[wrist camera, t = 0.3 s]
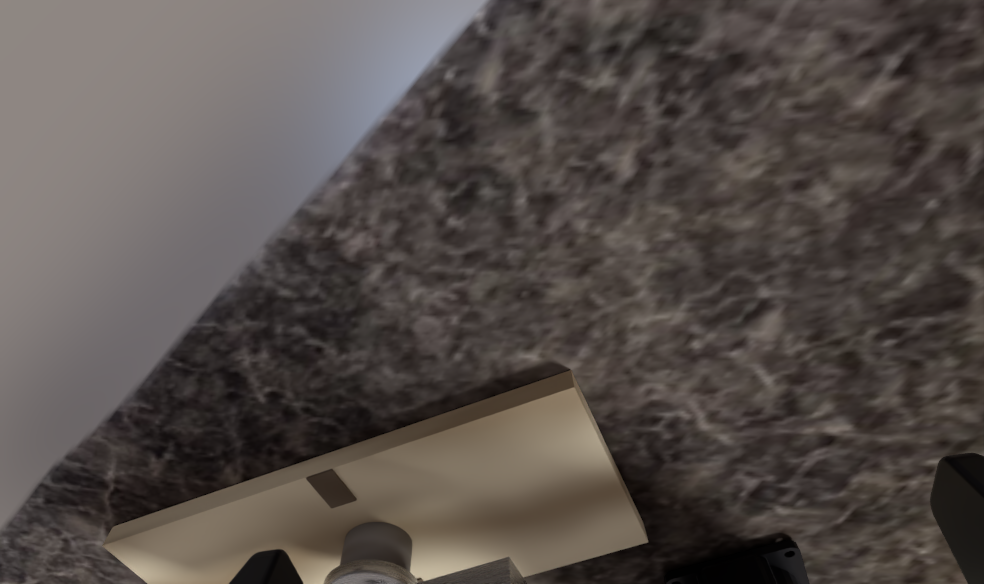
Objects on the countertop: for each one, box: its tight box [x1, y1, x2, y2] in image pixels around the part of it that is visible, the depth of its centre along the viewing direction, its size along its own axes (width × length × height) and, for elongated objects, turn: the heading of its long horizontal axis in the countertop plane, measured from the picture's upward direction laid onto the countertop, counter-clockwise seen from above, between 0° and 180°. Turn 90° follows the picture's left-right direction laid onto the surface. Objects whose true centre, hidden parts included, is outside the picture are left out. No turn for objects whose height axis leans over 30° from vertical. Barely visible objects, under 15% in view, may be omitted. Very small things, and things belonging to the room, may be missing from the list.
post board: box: [102, 370, 648, 584], centre depth 29 cm, size 10×22×3 cm, turn 113°
